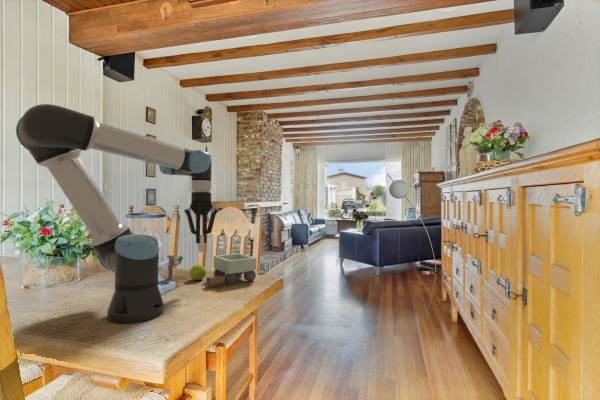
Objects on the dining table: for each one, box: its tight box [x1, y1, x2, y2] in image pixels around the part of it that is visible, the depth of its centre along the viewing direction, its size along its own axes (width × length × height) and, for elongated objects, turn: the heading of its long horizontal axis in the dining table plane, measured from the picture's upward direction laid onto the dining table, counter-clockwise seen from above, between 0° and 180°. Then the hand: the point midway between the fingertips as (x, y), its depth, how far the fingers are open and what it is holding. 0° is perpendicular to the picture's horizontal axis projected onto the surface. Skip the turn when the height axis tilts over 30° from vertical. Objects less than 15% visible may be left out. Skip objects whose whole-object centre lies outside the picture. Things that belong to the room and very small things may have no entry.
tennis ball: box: [189, 264, 207, 281], centre depth 139 cm, size 7×7×7 cm
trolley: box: [213, 253, 257, 285], centre depth 140 cm, size 15×14×10 cm
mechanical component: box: [166, 254, 184, 280], centre depth 141 cm, size 3×10×10 cm, turn 89°
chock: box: [206, 275, 226, 290], centre depth 129 cm, size 4×6×4 cm, turn 128°
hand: (201, 251), depth 126 cm, fingers closed
